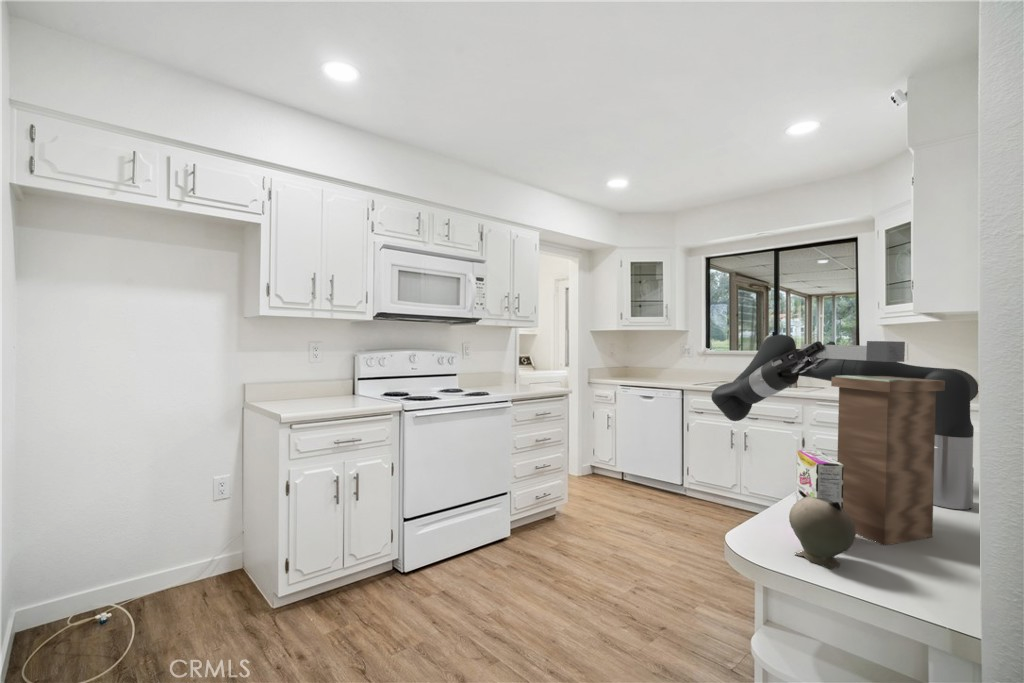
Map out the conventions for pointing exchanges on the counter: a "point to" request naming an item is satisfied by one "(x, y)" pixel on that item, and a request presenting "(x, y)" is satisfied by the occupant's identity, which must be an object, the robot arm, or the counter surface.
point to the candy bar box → (819, 476)
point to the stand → (887, 454)
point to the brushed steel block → (864, 351)
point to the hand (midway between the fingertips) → (827, 345)
